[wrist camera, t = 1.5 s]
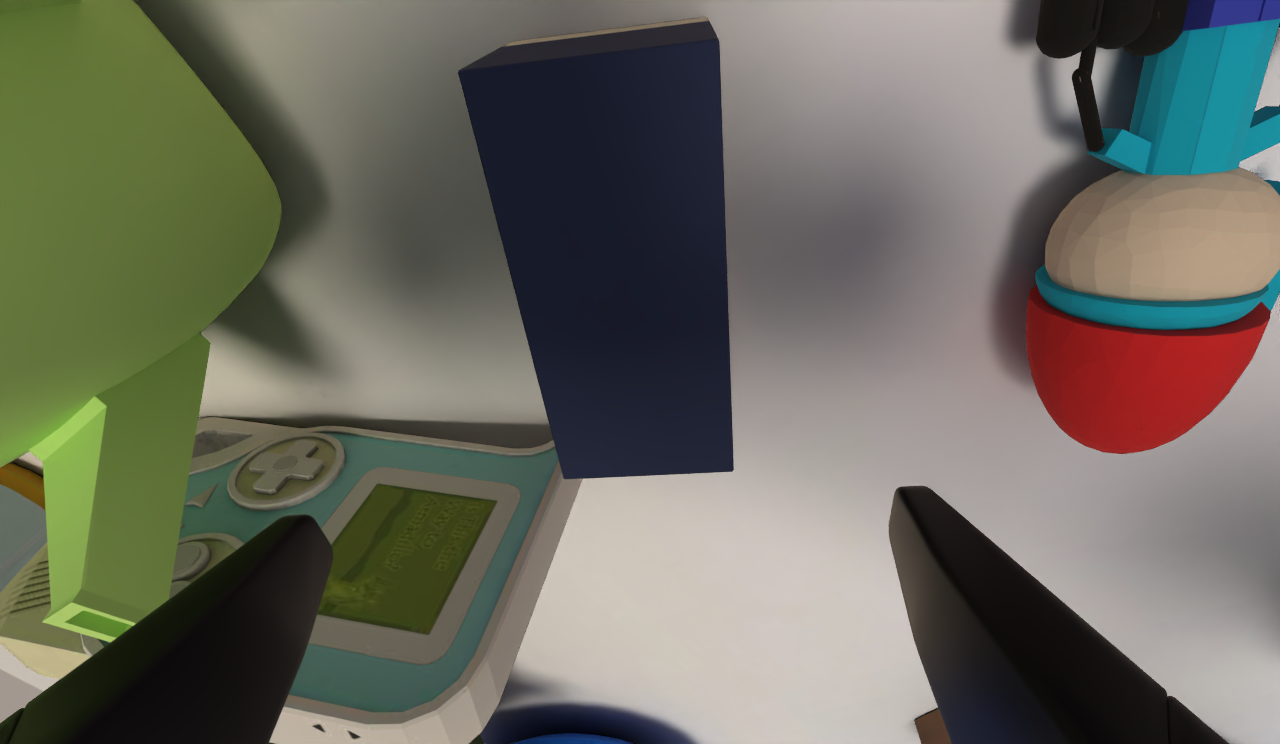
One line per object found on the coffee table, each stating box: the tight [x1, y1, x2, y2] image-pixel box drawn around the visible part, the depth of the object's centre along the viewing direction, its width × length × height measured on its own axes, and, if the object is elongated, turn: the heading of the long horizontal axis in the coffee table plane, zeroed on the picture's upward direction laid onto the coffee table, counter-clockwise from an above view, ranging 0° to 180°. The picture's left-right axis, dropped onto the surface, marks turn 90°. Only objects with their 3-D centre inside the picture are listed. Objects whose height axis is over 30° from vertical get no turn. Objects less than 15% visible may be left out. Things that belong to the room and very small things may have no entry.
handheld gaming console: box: [0, 417, 582, 744], centre depth 20 cm, size 11×3×15 cm
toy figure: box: [1026, 0, 1280, 454], centre depth 14 cm, size 8×5×15 cm
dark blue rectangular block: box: [458, 17, 734, 479], centre depth 16 cm, size 11×5×4 cm, turn 7°
